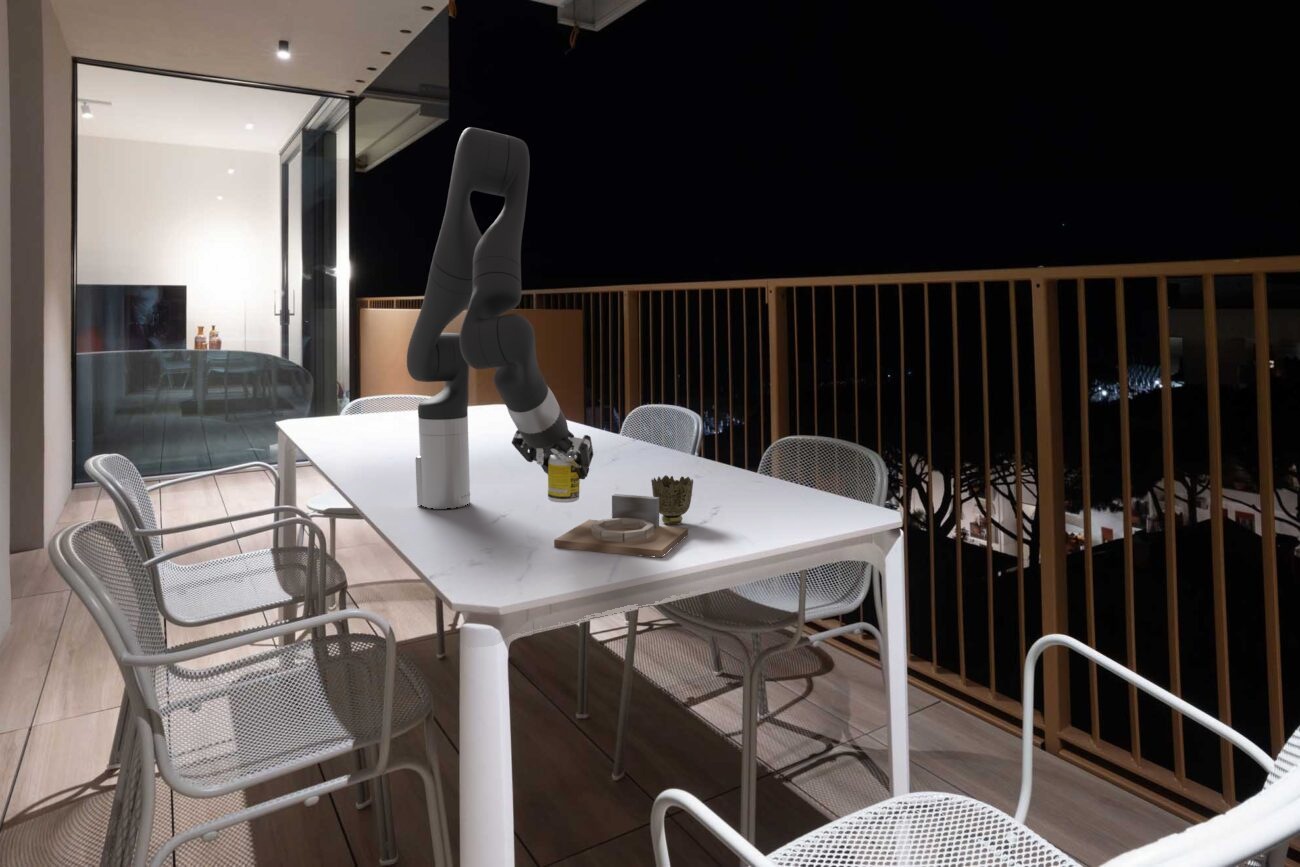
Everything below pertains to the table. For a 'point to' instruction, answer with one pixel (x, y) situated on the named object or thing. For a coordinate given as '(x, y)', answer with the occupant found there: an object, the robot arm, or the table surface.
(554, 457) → the supplement bottle
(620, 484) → the table surface
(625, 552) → the socket board
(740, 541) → the table surface
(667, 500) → the cup
